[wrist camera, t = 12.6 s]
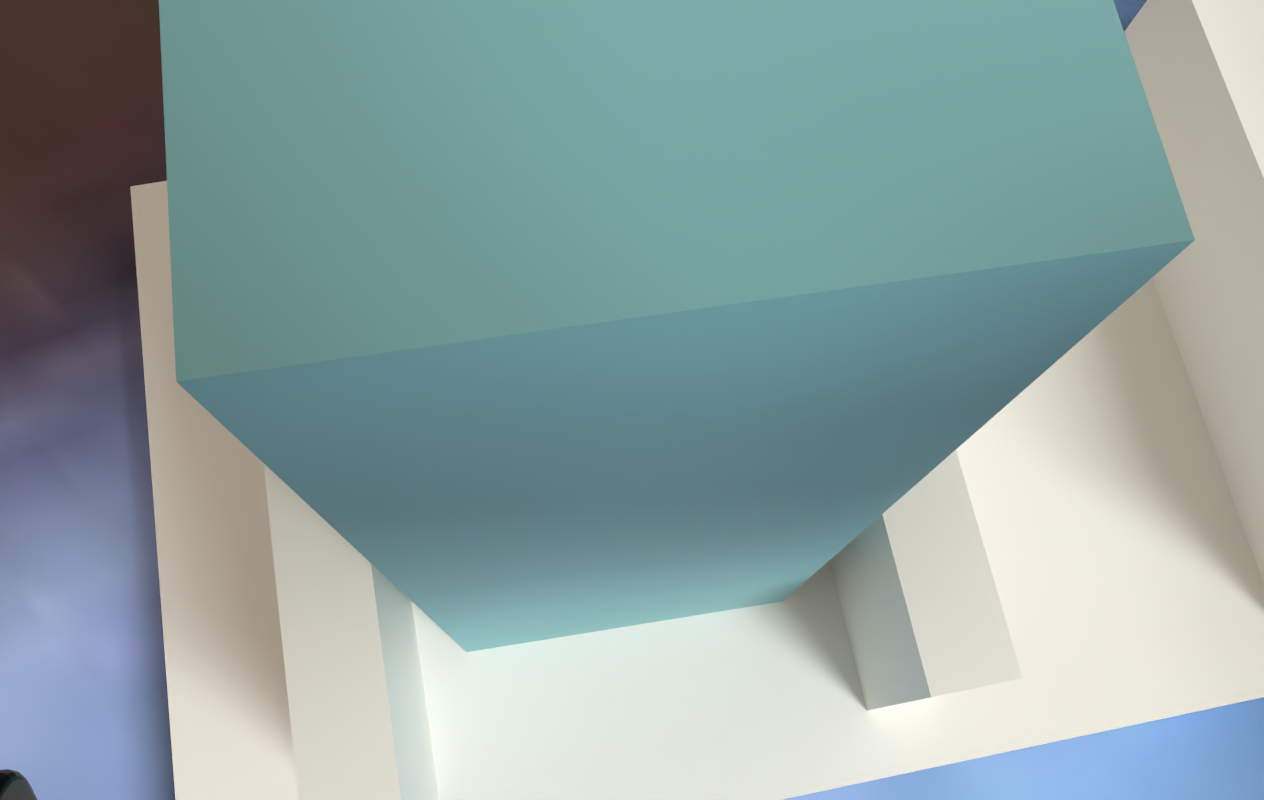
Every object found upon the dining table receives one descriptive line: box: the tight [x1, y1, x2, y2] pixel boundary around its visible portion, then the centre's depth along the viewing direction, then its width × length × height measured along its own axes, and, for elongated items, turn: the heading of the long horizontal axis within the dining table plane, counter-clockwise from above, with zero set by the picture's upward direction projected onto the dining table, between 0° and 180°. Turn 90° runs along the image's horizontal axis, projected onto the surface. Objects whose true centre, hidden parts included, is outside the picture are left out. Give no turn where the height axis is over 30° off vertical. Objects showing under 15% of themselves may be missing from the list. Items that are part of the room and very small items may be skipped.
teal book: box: [159, 0, 1195, 652], centre depth 13 cm, size 6×5×13 cm
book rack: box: [130, 0, 1264, 800], centre depth 15 cm, size 12×25×10 cm, turn 101°
